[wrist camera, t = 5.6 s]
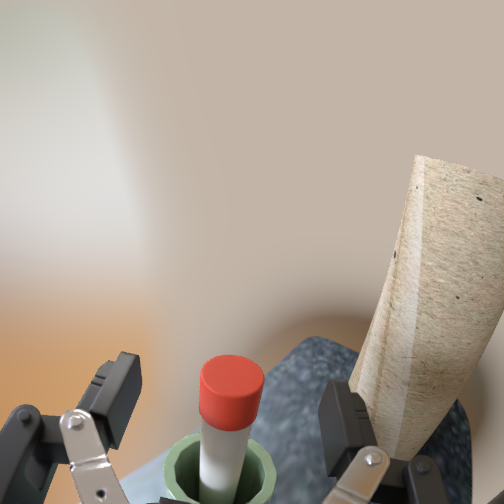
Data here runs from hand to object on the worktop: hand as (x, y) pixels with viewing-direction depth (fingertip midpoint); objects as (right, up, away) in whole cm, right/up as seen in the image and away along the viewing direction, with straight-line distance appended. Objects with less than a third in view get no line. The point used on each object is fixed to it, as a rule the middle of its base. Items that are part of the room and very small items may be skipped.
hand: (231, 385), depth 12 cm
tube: (+13, -12, +14) cm, 23 cm away
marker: (-2, -13, +4) cm, 14 cm away
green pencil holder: (-2, -14, +4) cm, 15 cm away
